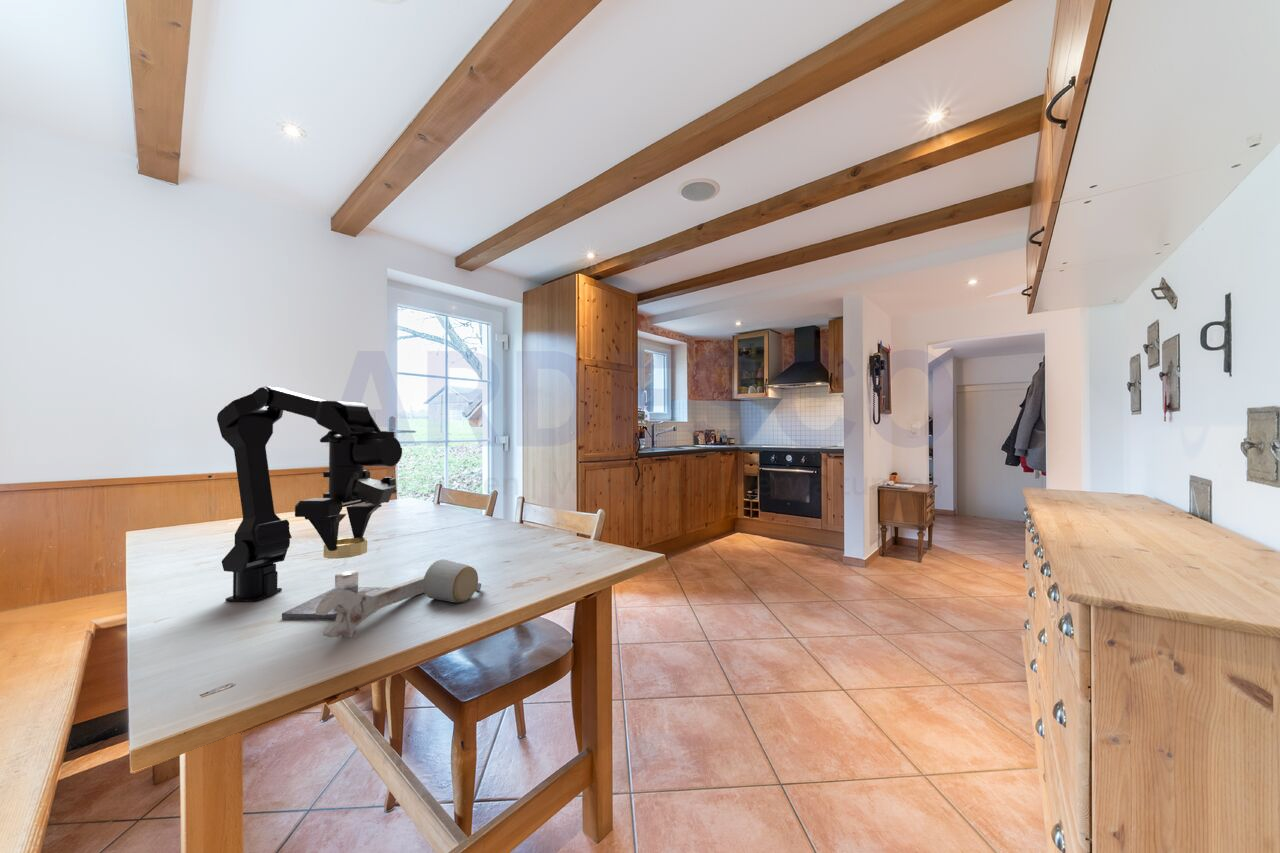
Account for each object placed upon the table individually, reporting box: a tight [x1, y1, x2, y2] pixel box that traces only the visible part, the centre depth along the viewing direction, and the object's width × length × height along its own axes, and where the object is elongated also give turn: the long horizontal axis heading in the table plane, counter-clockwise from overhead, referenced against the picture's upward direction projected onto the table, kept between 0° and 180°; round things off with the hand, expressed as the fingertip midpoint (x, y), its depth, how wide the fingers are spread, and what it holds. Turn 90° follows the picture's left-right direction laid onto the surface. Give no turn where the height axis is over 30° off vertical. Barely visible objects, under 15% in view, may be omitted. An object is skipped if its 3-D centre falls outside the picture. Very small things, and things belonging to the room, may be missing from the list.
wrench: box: [316, 575, 425, 638], centre depth 83 cm, size 8×2×30 cm
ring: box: [323, 536, 369, 560], centre depth 87 cm, size 7×7×2 cm
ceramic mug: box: [423, 558, 482, 604], centre depth 91 cm, size 11×8×8 cm
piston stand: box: [281, 570, 391, 621], centre depth 87 cm, size 14×14×6 cm
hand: (345, 545), depth 87 cm, fingers closed on ring, 7 cm apart
